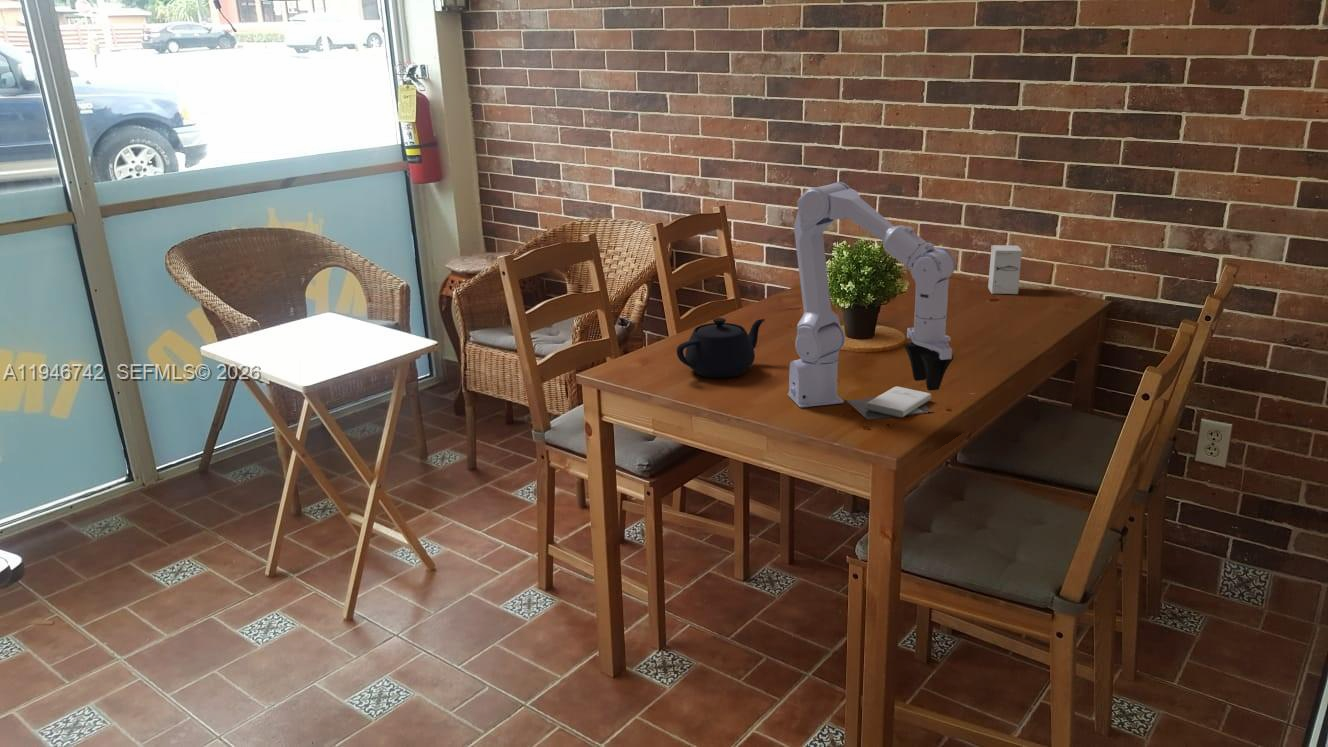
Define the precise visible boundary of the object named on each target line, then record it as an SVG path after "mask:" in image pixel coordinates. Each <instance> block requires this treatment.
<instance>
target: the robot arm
mask: <svg viewBox="0 0 1328 747" xmlns="http://www.w3.org/2000/svg"><path fill="white" fill-rule="evenodd" d="M796 201H797V203H796V204H797V212H796V213H797V214H796V217H795V221H794V225H793V232H794V241H795V248H796V249H795V250H796V257H797V264H798V265H797V266H798V274H799V283H800V290H801V291H800V292H801V297H802V298H801V300H802V308H803V314H802V316H801V318H800V320H798V323H797V325H796V334H797V335H796V336H795V337H796V338H795V341H794V343H795V344H794V346H795V347H794V348H795V351H796V353H797V355H798V356H799V357H800V358H799V359H795V360H791V361H790V363H789V368H788V369H789V371H788V373H789V374H788V375H789V376H788V377H789V378H788V393H787V396H788V397H790V399H791V400H792V401H793V402H794V403H795V405H797V406H798V407H799V408H808V407H818V406H819V407H820V406H829V405H837V404H838V405H839V404H844V402H845V401H844V399H843V398H841V397H840V396H839V394H838V363H839V362H838V361H839V360H838V358H839V356H840V350H842V349H843V347H844V345H845V343H846V335H845V331H844V330H843V328H842V325H841V323H840V317H839V315H838V314H836V313H835V312H834V311H833V310H832V305H831V295H830V285H829V279H828V277H829V275H828V269H827V268H828V266H827V260H826V251H825V250H826V249H825V241H824V232H825V230H827V229H828V227H829V226H830V225H831V224H832V222H834V221H835V220H850V221H852V222H853V223H855V224H856V225H858V226H859V227H861V228H863V229H864V230H865V231H867V232H868V233H870V234H872V236H874V237H876V238H878V239H879V240H880V241H882V246H883V250H884V251H885V252H886V253H887V254H889V255H890V256H891V257H893V258H894V259H895V260H897V262H899V263H901V265H904V267H906V268H907V269H908V270H909V271H910V275H911V276H912V279H913V280H914V284H915V299H914V301H915V302H914V319H913V327H908V328H907V330H906V338H907V339H909V340H911V341H910V342H908V343H904V345H903V346H904V349H905V351H906V353H907V355H908V359H909V361H910V362H909V363H910V366H911V367H910V368H911V372H912V376H913V381H915V382H919V381H925V382H926V383H925V384H926V389H927V390H928V391H930V392H931V391H939V390H940V388H941V384H942V383H943V382H942V381H943V378H944V376H945V373H946V372H947V369H948V368H949V367H950V364H951V363H952V362H953V361H954V355H953V348H951V347H950V345H949V342H951V336H949V335H947V334H946V328H947V327H946V326H947V313H948V298H949V295H948V294H949V282H950V281H949V280H950V279H949V277H951V276H952V275H953V273H954V272H955V269H956V261H955V258H954V256H953V254H952V253H951V252H950V251H949V250H948V249H947V248H946V247H935V245H934V244H933V243H931V241H930V242H927V241H926V240H924V239H923V238H922V237H921V236H919V235H918V234H916V233H915V228H914V227H912V226H910V225H909V226H905V224H904V225H903V224H901V225H895V226H894V224H892V222H890V221H889V220H888V219H886V218H885V217H884V216H883V215H882V214H881V213H879V212H878V211H877V210H875V209H874V208H873V207H872V206H871V205H870V204H868V203H867V202H866V201H865V200H864V199H862V197H861V196H860V195H859V193H858V191H857V190H855V189H853V188H851V187H850V186H849V185H848V184H847V183H845V182H842V181H836V182H833V183H830V184H825V185H822V186H817V187H810V188H807V189H806V190H805V191H804V192H803V193H802V194H801V196H800V197H799V198H798V199H797V200H796Z"/></svg>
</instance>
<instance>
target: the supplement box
mask: <svg viewBox="0 0 1328 747" xmlns="http://www.w3.org/2000/svg"><path fill="white" fill-rule="evenodd" d="M990 248H991V249H990V261H989V262H990V263H989V272H988V282H987V283H988V285H987V287H988V290H989V292H990V293H991V294H992V295H993V294H994V295H995V294H999V295H1000V294H1001V295H1002V294H1003V295H1006V294H1007V295H1019V289H1020V287H1019V286H1020V278H1021V277H1020V276H1021V274H1020V273H1021V266H1022V254H1023V250H1022V249H1021V248H1020V246H1019V245H1010V244H1009V245H1006V244H1005V245H1004V244H1003V245H1001V244H1000V245H999V244H995V245H994V244H993V245H991V246H990Z"/></svg>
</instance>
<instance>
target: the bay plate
mask: <svg viewBox="0 0 1328 747" xmlns="http://www.w3.org/2000/svg"><path fill="white" fill-rule="evenodd" d="M876 397H877V396H875V397H869V398H868V397H867V398H857V399H849V400H846V402H847V403H848V404H849V405H850V406H851V407H853V408H854V410H855V411H857V412H858V413H859V414H860V415H861V416H862V417H864V418H865V419H866V420H868V421H871V420H878V419H888V418H895V417H896V416H891V415H887V414H883V413H878V412H874V411H870V410H867V409H866V403H867V402H869V401H871V400H872V399H874V398H876ZM926 408H927V409H926ZM928 409H929V410H931V409H930V408H929V407H928V406H926V405H925V404H923V405H921V406H920V407H918V408H917V409H915V410H914V411H912V412H910V413H909V414H907V415H908V416H914V415H915V414H917V415H925V414H924V413H926V414H929V413H928V412H932V411H933V410H932V411H929V410H928ZM922 410H923V411H922ZM924 411H925V412H924ZM926 411H927V412H926ZM920 412H921V413H920Z"/></svg>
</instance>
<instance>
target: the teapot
mask: <svg viewBox="0 0 1328 747" xmlns="http://www.w3.org/2000/svg"><path fill="white" fill-rule="evenodd" d="M712 321H713V322H711V323H707V324H706V323H705V324H701V325H698V326H696V327H695V328H694V329H693V331H692V334H691V336H690V337H689V339H688V341H685V342H682V343H680V344H679V345H678V346H677V348H676V354H677V358H678V359H679V361H680V362H681V363H682V364H684V365H685V366H687V367H689V368H690V369H691V370H692V371H693V372H695V374H697V375H699V376H701V377H706V378H711V379H712V378H713V379H724V378H726V379H727V378H733V377H736V376H737V377H738V376H741V375H742V374H744V373H745V372H746V370H748V369H749V368H750V367H751V366H752V365H753V364H754V362H755V358H756V356H755V355H756V354H755V348H756V346H757V343H758V336H759V330H760V327H761V325H762V324H763V323H764V322H765V321H766V319H765V318H761V319H757V320H755V321H754V322H753V324H752V325H751V328H750V331H749V332H747V330H746V329H745V328H744V327H743V326H742V325H739V324H735V323H730V322H729V323H728V322H726V321H727V320H726V319H725V317H716V318H713V319H712ZM684 350H685V353H684Z"/></svg>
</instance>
